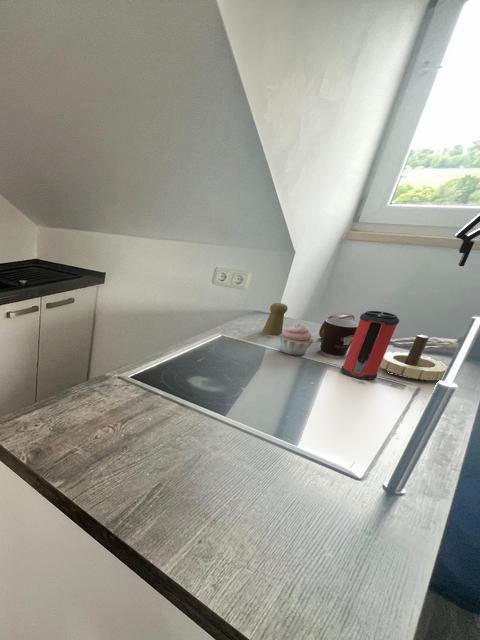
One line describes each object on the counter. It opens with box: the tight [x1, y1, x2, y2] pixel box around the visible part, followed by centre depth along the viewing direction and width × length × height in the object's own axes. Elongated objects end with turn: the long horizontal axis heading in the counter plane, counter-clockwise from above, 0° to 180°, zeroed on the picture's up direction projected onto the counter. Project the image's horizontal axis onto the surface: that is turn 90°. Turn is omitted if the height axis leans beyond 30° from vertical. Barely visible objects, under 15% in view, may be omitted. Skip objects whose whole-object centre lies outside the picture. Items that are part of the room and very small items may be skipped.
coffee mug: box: [319, 318, 359, 357], centre depth 123 cm, size 12×9×10 cm
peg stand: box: [387, 334, 430, 383], centre depth 109 cm, size 8×8×11 cm
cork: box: [262, 302, 289, 336], centre depth 141 cm, size 6×6×11 cm
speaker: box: [340, 310, 400, 381], centre depth 107 cm, size 8×8×18 cm
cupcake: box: [278, 322, 314, 356], centre depth 125 cm, size 9×9×10 cm
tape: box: [379, 351, 449, 381], centre depth 110 cm, size 14×14×3 cm
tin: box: [318, 312, 355, 338], centre depth 136 cm, size 15×3×8 cm, turn 114°
